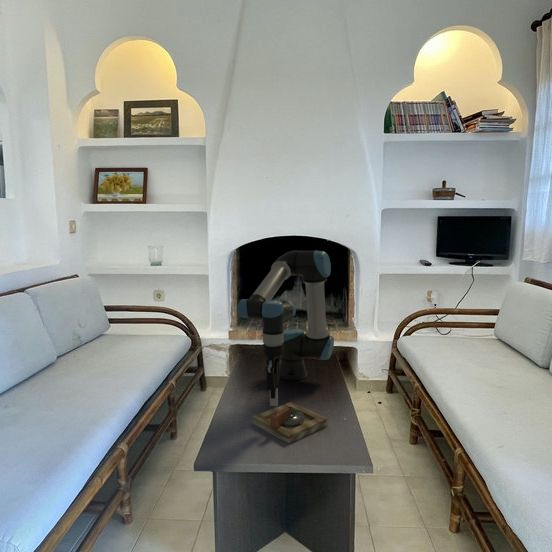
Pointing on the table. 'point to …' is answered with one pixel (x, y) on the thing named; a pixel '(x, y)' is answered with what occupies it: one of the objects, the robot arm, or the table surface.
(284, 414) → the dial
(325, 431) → the table surface
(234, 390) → the table surface
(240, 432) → the table surface
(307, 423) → the panel
